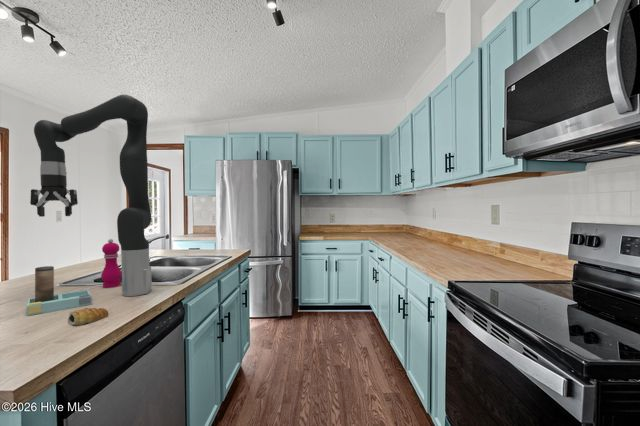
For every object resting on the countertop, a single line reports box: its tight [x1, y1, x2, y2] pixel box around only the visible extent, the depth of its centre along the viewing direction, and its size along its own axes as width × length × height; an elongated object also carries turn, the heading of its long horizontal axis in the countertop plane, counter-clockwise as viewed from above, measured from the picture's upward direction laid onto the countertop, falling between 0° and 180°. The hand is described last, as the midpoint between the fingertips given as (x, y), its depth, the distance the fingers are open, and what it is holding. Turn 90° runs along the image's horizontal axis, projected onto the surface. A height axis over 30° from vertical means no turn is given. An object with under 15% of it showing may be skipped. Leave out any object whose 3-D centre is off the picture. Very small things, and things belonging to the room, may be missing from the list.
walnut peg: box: [34, 265, 55, 302], centre depth 101 cm, size 5×5×13 cm
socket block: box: [26, 289, 92, 317], centre depth 102 cm, size 16×10×3 cm, turn 132°
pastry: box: [67, 307, 109, 326], centre depth 90 cm, size 9×7×4 cm
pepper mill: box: [100, 238, 122, 289], centre depth 128 cm, size 7×7×20 cm
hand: (55, 216), depth 117 cm, fingers open, 8 cm apart
